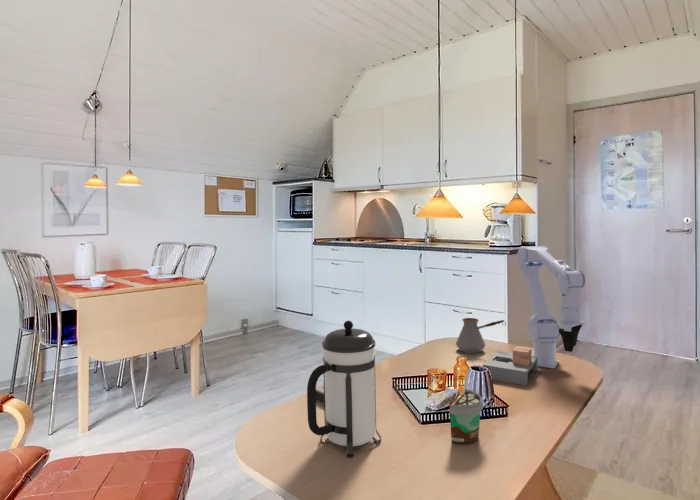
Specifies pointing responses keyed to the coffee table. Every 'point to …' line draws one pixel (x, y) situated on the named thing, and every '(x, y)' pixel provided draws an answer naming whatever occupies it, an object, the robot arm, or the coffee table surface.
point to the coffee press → (346, 389)
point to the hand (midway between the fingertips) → (570, 348)
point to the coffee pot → (472, 336)
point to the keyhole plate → (509, 368)
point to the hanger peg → (522, 355)
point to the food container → (465, 418)
